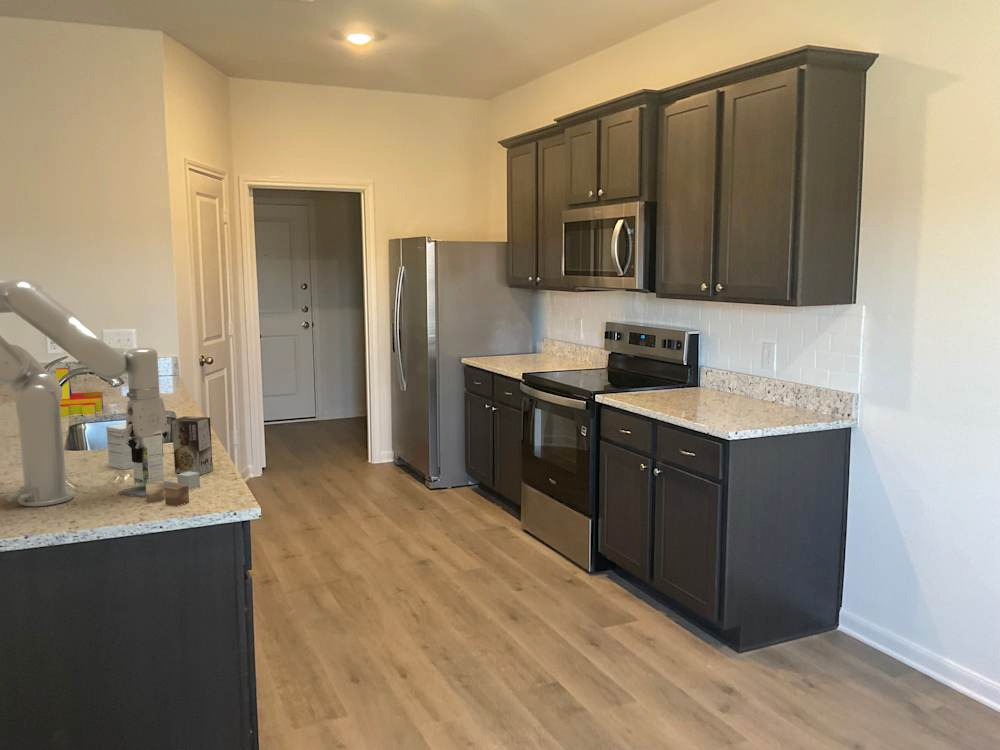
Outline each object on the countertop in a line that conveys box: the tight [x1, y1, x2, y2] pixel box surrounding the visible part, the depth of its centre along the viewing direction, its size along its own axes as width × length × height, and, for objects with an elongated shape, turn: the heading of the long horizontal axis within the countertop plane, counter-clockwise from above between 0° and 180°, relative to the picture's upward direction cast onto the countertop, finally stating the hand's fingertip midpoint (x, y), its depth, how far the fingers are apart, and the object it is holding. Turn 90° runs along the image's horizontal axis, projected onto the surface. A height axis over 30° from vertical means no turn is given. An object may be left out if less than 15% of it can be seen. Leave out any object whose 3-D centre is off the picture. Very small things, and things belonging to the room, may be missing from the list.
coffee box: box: [171, 416, 214, 476], centre depth 239 cm, size 9×6×16 cm
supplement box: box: [105, 422, 133, 470], centre depth 247 cm, size 7×7×13 cm
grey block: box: [176, 471, 201, 490], centre depth 223 cm, size 4×4×4 cm
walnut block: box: [164, 484, 190, 507], centre depth 208 cm, size 4×4×4 cm
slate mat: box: [118, 480, 178, 498], centre depth 221 cm, size 13×9×1 cm
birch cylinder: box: [145, 481, 165, 503], centre depth 212 cm, size 4×4×4 cm
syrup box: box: [132, 431, 165, 486], centre depth 220 cm, size 6×6×14 cm
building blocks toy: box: [54, 367, 104, 417], centre depth 337 cm, size 19×25×18 cm
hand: (147, 458), depth 220 cm, fingers closed on syrup box, 6 cm apart
